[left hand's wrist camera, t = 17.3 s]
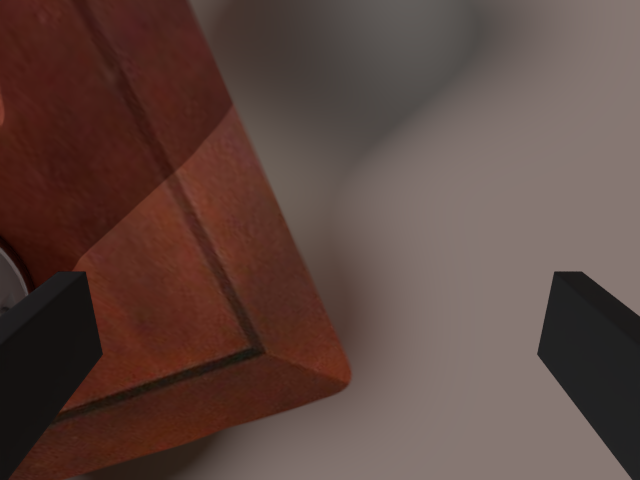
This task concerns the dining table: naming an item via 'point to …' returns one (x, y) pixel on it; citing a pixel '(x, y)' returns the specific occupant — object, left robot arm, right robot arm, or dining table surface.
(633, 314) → the left robot arm
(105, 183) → the dining table surface
